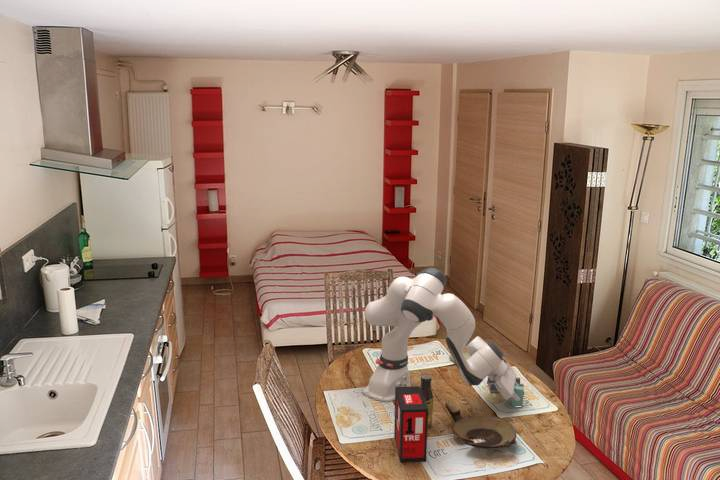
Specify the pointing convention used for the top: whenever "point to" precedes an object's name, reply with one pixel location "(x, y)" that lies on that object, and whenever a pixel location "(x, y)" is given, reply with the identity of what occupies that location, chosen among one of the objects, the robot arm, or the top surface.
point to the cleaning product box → (410, 424)
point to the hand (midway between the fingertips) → (519, 395)
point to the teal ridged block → (519, 395)
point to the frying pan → (482, 430)
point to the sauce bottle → (427, 396)
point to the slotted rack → (493, 389)
